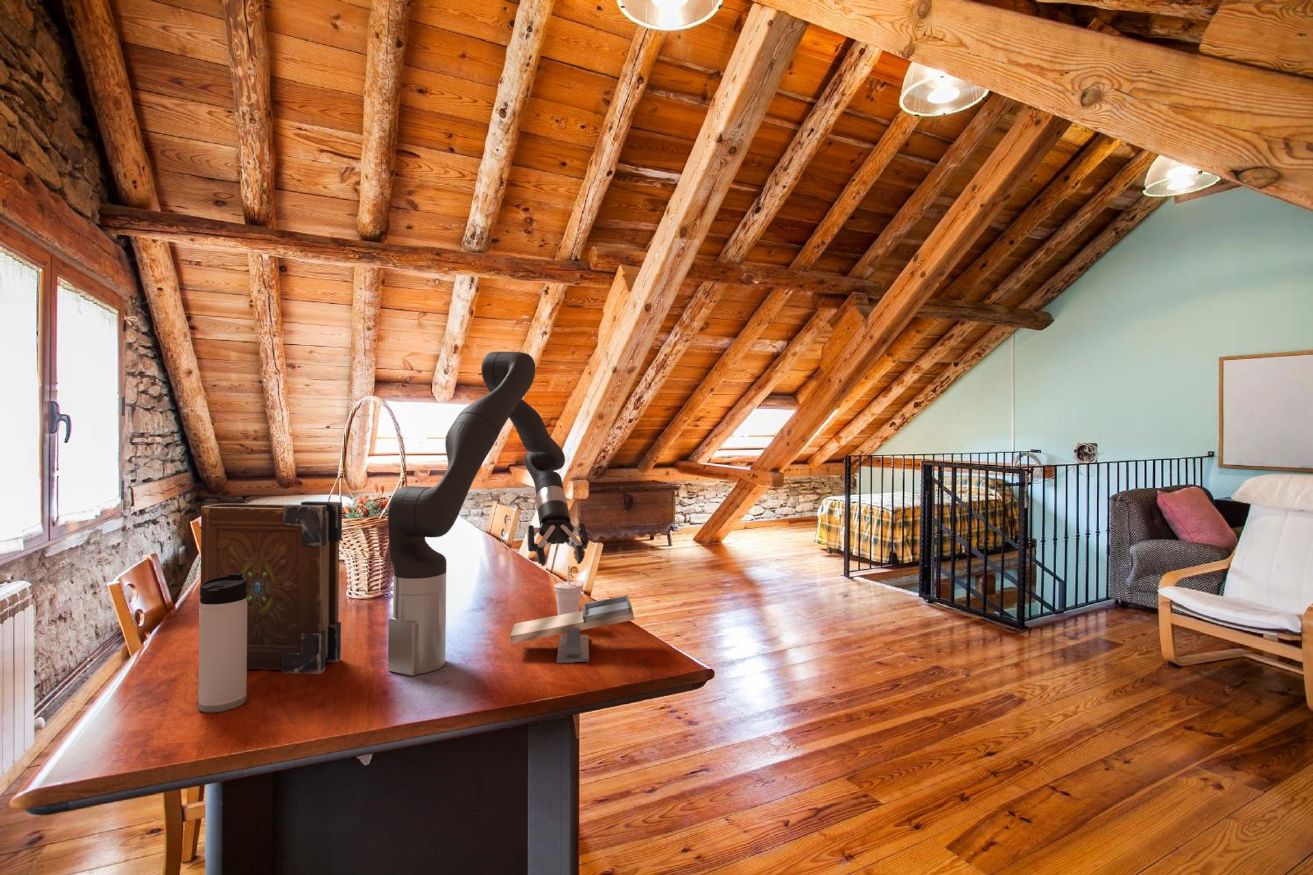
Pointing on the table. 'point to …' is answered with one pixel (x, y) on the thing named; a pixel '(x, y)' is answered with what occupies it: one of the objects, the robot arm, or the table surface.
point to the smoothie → (568, 595)
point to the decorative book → (281, 578)
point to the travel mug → (222, 643)
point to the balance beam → (575, 619)
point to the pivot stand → (573, 647)
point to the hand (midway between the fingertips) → (561, 563)
